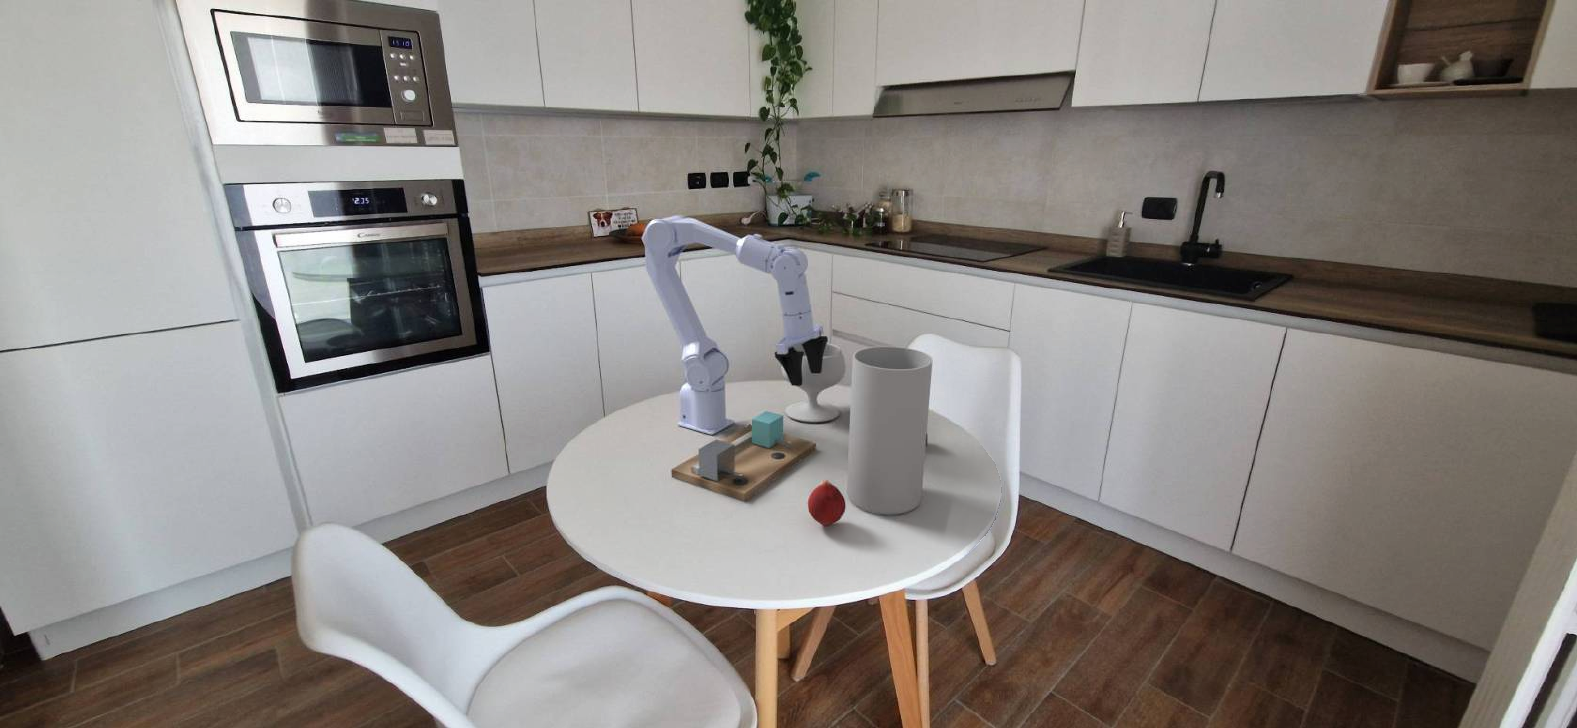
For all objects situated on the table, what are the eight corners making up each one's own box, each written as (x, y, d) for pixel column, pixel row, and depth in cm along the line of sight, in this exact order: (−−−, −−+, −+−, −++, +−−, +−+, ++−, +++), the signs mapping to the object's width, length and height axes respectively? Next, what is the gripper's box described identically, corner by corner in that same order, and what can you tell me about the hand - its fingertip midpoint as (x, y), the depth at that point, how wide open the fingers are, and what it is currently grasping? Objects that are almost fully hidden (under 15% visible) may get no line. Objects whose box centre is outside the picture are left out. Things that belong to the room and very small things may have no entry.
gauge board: (671, 476, 119) (671, 463, 119) (749, 431, 139) (748, 419, 138) (744, 501, 111) (744, 487, 111) (815, 449, 131) (816, 437, 130)
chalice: (794, 429, 140) (795, 361, 135) (772, 406, 152) (772, 343, 148) (854, 420, 145) (857, 355, 140) (827, 399, 157) (829, 337, 153)
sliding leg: (751, 443, 129) (751, 419, 128) (766, 434, 133) (766, 411, 132) (784, 452, 125) (784, 427, 124) (798, 442, 129) (798, 419, 128)
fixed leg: (699, 475, 116) (698, 449, 115) (716, 464, 120) (716, 439, 119) (733, 486, 112) (733, 459, 111) (751, 475, 117) (750, 449, 115)
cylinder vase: (878, 524, 105) (887, 375, 97) (832, 491, 115) (837, 353, 107) (936, 504, 111) (949, 362, 104) (887, 474, 121) (896, 342, 114)
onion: (848, 519, 106) (850, 474, 104) (839, 538, 101) (840, 491, 99) (813, 513, 108) (814, 468, 106) (802, 531, 103) (803, 485, 101)
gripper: (794, 321, 121) (805, 391, 124) (832, 302, 132) (841, 368, 136) (762, 321, 124) (774, 390, 128) (802, 304, 136) (811, 367, 139)
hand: (806, 378), depth 132 cm, fingers open, 7 cm apart
